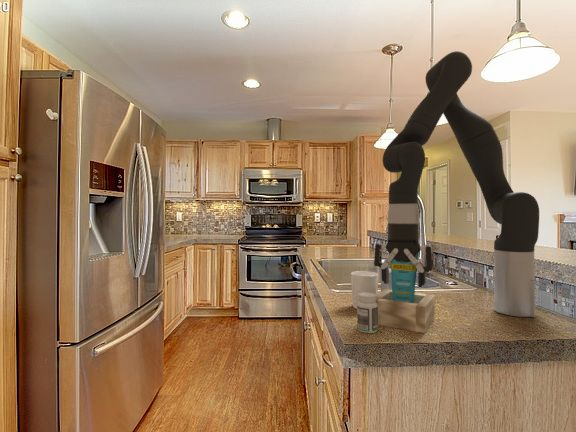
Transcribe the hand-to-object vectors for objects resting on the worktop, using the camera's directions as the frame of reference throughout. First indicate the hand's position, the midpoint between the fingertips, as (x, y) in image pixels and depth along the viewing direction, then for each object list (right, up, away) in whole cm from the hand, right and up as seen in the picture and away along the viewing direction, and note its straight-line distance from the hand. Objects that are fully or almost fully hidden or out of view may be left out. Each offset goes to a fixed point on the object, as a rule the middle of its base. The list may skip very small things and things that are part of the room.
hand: (402, 285), depth 84 cm
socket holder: (0, -9, 0) cm, 9 cm away
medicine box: (+5, -9, +26) cm, 28 cm away
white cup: (-7, -9, +12) cm, 17 cm away
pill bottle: (-11, -9, -7) cm, 16 cm away
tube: (0, -9, 0) cm, 9 cm away
